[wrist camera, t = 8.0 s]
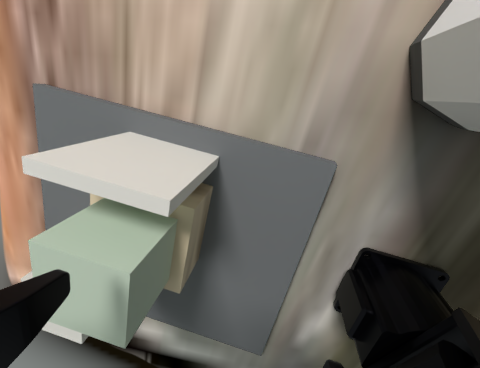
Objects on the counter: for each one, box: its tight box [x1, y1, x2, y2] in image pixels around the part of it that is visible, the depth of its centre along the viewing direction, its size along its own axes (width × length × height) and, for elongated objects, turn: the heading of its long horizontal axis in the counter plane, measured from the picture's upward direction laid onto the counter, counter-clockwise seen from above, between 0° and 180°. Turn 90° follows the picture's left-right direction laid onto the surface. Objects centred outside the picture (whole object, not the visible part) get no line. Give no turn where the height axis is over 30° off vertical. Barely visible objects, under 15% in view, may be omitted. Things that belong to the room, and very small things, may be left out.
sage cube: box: [28, 198, 178, 348], centre depth 14 cm, size 5×5×5 cm
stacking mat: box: [22, 84, 337, 356], centre depth 18 cm, size 23×20×9 cm
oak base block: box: [90, 183, 213, 294], centre depth 18 cm, size 7×7×4 cm
